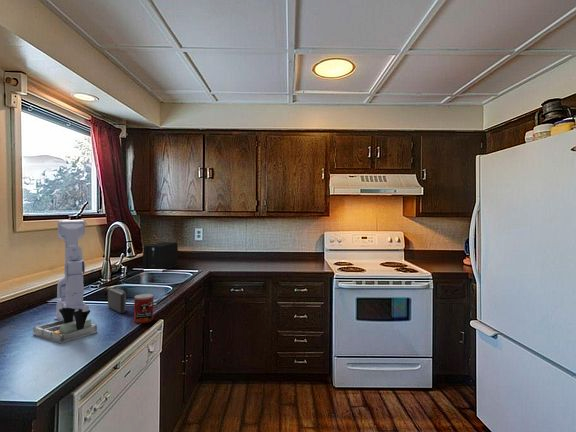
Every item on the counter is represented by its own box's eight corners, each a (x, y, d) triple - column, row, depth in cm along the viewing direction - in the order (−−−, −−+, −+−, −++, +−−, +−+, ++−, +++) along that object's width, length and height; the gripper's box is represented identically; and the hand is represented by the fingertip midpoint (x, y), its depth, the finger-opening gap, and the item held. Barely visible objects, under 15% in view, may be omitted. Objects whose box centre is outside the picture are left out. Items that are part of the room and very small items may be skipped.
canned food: (134, 324, 151) (134, 298, 151) (134, 319, 158) (134, 294, 158) (153, 322, 154) (153, 297, 154) (152, 317, 161) (152, 292, 161)
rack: (33, 334, 137) (33, 325, 137) (69, 324, 149) (69, 316, 149) (61, 343, 129) (61, 334, 129) (96, 332, 141) (96, 323, 141)
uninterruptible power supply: (142, 271, 275) (142, 245, 274) (160, 265, 308) (160, 242, 308) (163, 272, 274) (163, 246, 274) (179, 265, 308) (179, 242, 307)
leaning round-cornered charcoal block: (130, 312, 168) (130, 292, 168) (120, 314, 165) (120, 294, 164) (116, 305, 179) (116, 287, 179) (107, 307, 176) (107, 288, 175)
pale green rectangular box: (59, 337, 133) (59, 325, 133) (85, 329, 142) (85, 318, 142) (64, 338, 132) (64, 326, 132) (90, 330, 140) (90, 319, 140)
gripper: (52, 291, 136) (52, 327, 136) (75, 296, 129) (75, 334, 129) (71, 288, 142) (71, 322, 142) (94, 292, 135) (94, 328, 136)
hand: (74, 327), depth 136 cm, fingers open, 7 cm apart
